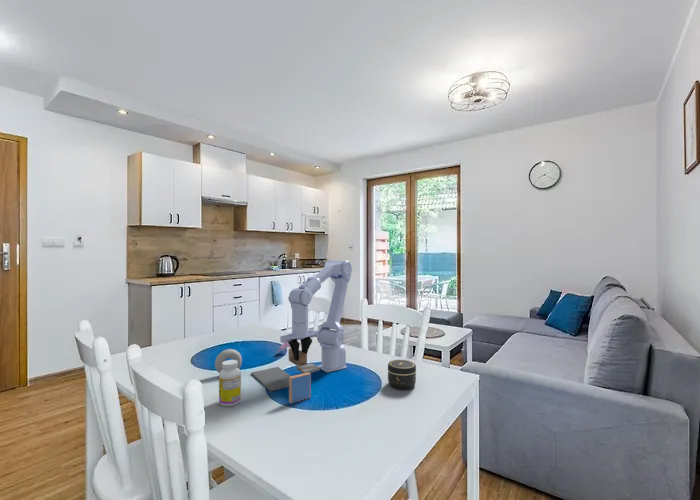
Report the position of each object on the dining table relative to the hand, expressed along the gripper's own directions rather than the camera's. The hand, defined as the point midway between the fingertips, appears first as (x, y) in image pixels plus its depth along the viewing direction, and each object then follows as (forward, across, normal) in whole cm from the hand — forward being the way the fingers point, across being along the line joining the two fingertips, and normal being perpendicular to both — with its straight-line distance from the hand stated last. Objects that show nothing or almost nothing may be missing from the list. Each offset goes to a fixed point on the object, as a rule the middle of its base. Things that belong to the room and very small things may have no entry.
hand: (300, 359), depth 125 cm
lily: (+9, -11, -35) cm, 37 cm away
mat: (+8, +6, -9) cm, 14 cm away
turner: (+2, 0, +1) cm, 2 cm away
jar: (+9, -29, +23) cm, 38 cm away
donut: (+9, +19, -23) cm, 31 cm away
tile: (+9, +6, +12) cm, 16 cm away
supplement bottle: (+9, +25, +1) cm, 27 cm away
